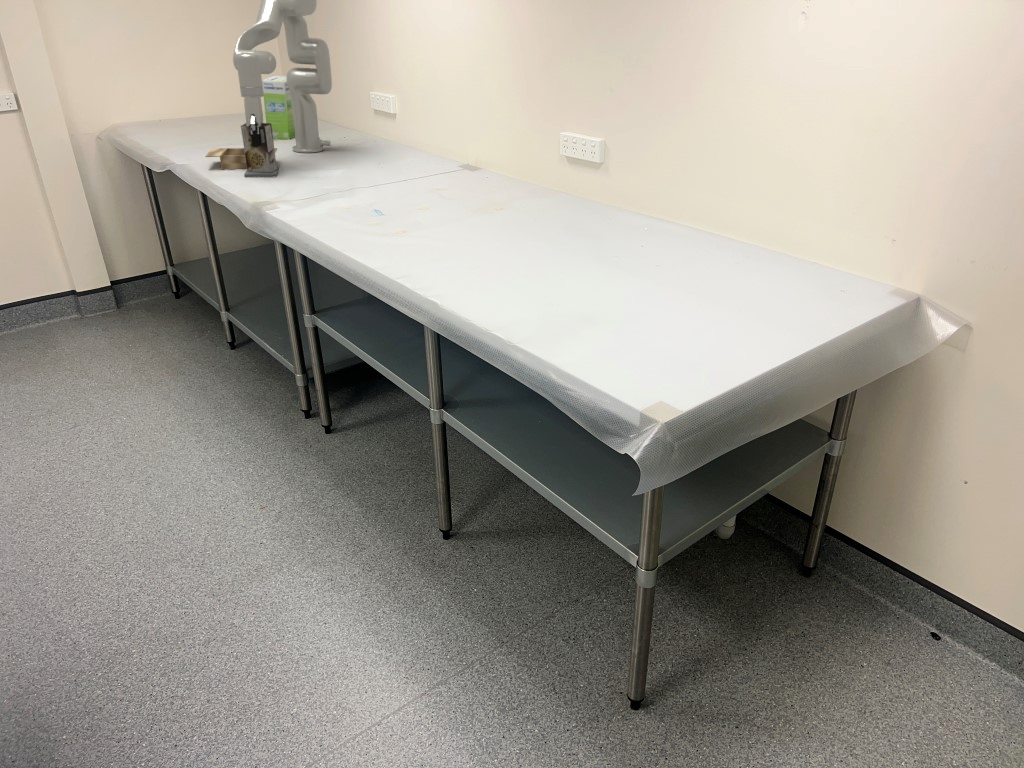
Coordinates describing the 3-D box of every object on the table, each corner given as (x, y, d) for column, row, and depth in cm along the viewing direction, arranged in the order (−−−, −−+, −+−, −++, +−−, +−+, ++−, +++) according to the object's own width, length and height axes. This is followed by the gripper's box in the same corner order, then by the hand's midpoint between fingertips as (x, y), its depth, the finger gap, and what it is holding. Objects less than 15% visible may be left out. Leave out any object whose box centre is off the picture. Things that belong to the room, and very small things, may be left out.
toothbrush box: (290, 139, 327) (284, 81, 316) (267, 139, 327) (259, 80, 316) (302, 132, 343) (296, 76, 331) (279, 131, 343) (273, 75, 331)
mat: (279, 169, 278) (279, 166, 277) (276, 176, 267) (276, 174, 267) (248, 169, 276) (248, 166, 275) (244, 177, 266) (244, 174, 265)
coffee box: (277, 168, 274) (272, 123, 266) (271, 172, 268) (265, 126, 260) (253, 167, 274) (247, 121, 267) (246, 171, 269) (240, 125, 261)
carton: (278, 161, 290) (277, 148, 287) (275, 169, 277) (273, 155, 275) (214, 161, 285) (211, 148, 283) (207, 170, 273) (205, 156, 271)
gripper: (244, 88, 265) (250, 138, 273) (237, 95, 250) (244, 148, 258) (265, 88, 266) (271, 138, 275) (260, 95, 251) (266, 148, 260)
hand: (258, 143), depth 267 cm, fingers open, 8 cm apart
